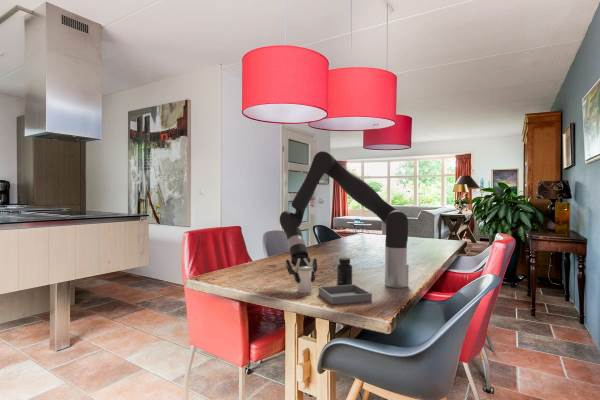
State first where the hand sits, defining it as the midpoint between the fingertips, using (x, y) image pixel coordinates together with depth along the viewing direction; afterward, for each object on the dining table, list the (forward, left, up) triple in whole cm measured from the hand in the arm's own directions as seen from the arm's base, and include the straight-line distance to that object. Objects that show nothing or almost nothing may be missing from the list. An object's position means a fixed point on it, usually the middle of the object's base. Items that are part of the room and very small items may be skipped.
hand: (305, 281), depth 140 cm
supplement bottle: (-20, -6, -5) cm, 21 cm away
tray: (-12, +11, -4) cm, 17 cm away
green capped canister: (0, -2, -4) cm, 5 cm away
